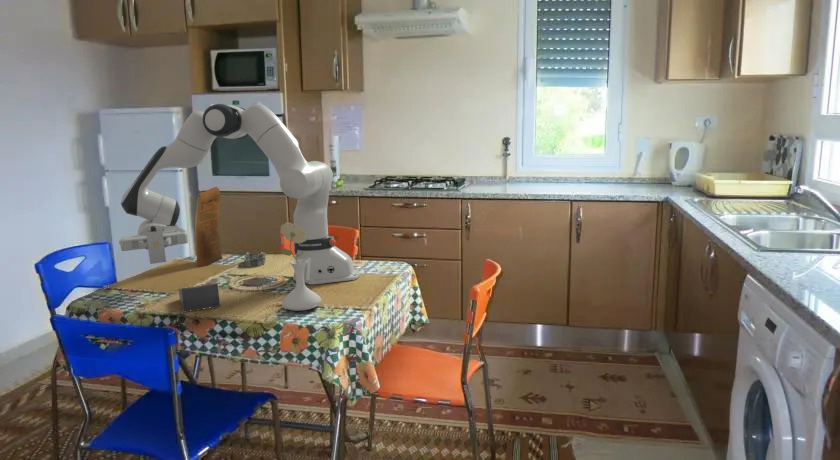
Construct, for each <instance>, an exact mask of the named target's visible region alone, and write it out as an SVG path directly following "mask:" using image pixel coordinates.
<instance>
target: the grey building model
mask: <svg viewBox="0 0 840 460" xmlns="http://www.w3.org/2000/svg"><path fill="white" fill-rule="evenodd" d="M266 256H267V252H265V253H263V252H262V253H258V252H257V254H256V255H255V254H254V252H249V250H247V251H246V253H245V256H244V258H243V260H244V261H243V262H244V263H245V264H244V265H245V267H248V268H251V267H261V266H264V265H265V263H266V262H265V261H266Z"/></svg>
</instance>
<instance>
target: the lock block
mask: <svg viewBox="0 0 840 460" xmlns="http://www.w3.org/2000/svg"><path fill="white" fill-rule="evenodd" d="M150 228H151V229H150V230H146V237H147V243H148V250H147V252H148V260H149V264H150V265H153V264H159V263H161V264H162V263H166V262H167V258H166V257H167V256H166V251H165V249H166V247H165V248H164V240H163V232H162V229H161V228H159V229H157V226H151V227H150Z"/></svg>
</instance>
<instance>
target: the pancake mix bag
mask: <svg viewBox="0 0 840 460" xmlns="http://www.w3.org/2000/svg"><path fill="white" fill-rule="evenodd" d="M196 200H197V201H196V209H195V220H194V221H195V222H194V224H195V225H194V226H195V228H194V230H195V231H194V232H195V234H194V235H195V251H196V255H195V256H196V267H197V268H202V267H208V266H209V265H212V264H214V263H216V262H217V261H220V260H223V254H222V246H221V237H220V230H219V225H220V223H219V222H220V217H221V212H220V211H221V209H220V206H221V205H220V204H221V193H220V189H219V188H218V186H215V187H212V188H209V189H207V190H205V191H202V192H199V193H198V196H197V199H196Z"/></svg>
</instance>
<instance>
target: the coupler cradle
mask: <svg viewBox="0 0 840 460" xmlns="http://www.w3.org/2000/svg"><path fill="white" fill-rule="evenodd" d="M178 296H179V299H178V300H179V302H180V301H181V302H180V304H182V305H181V308H182V307H183V308H182V311H183V310H184V311H190V310H197V309H203V308H209V307H216V308H218V307H217V306H220V307H221V303H220V294H219V284H218V283H211V284H205V285H197V286H190V287H184V288H183V287H182V288H180V289H178ZM209 309H210V308H209ZM203 310H204V309H203ZM184 311H183V312H184ZM197 311H198V310H197Z"/></svg>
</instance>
